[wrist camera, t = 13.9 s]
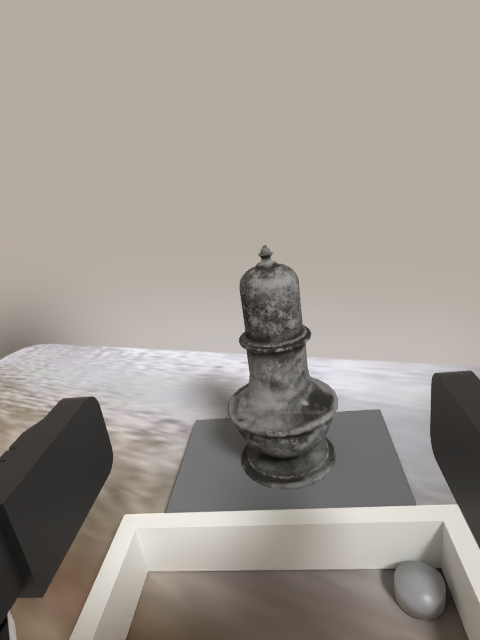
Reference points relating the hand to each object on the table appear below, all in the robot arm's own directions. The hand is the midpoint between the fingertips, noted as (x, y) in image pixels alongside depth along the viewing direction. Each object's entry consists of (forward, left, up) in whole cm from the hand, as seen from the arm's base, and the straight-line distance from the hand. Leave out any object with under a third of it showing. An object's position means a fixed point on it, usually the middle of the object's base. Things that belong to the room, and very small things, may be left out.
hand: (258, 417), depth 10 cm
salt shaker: (0, -11, -10) cm, 15 cm away
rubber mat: (0, -11, -11) cm, 16 cm away
